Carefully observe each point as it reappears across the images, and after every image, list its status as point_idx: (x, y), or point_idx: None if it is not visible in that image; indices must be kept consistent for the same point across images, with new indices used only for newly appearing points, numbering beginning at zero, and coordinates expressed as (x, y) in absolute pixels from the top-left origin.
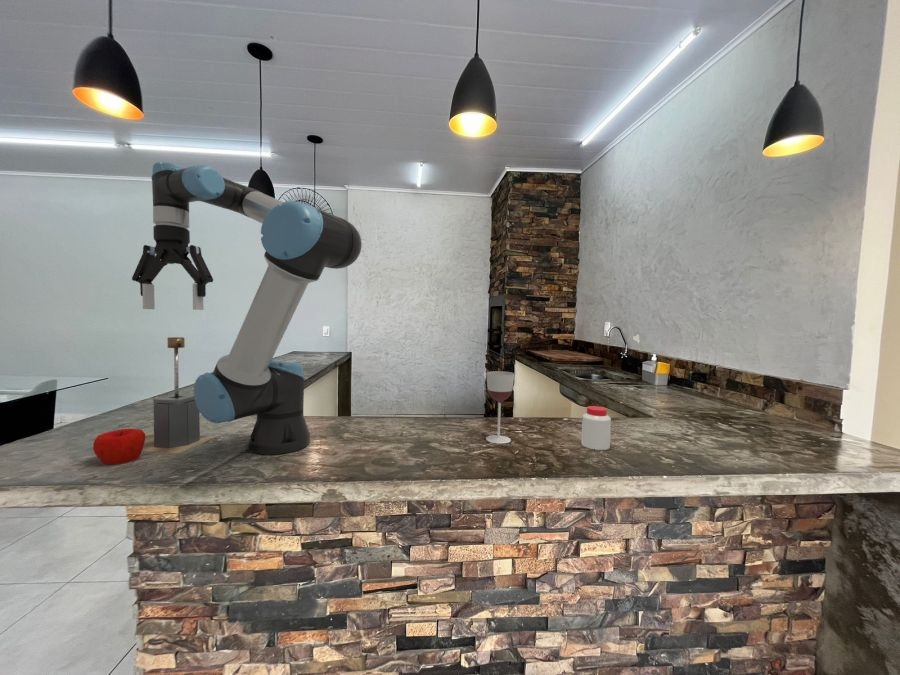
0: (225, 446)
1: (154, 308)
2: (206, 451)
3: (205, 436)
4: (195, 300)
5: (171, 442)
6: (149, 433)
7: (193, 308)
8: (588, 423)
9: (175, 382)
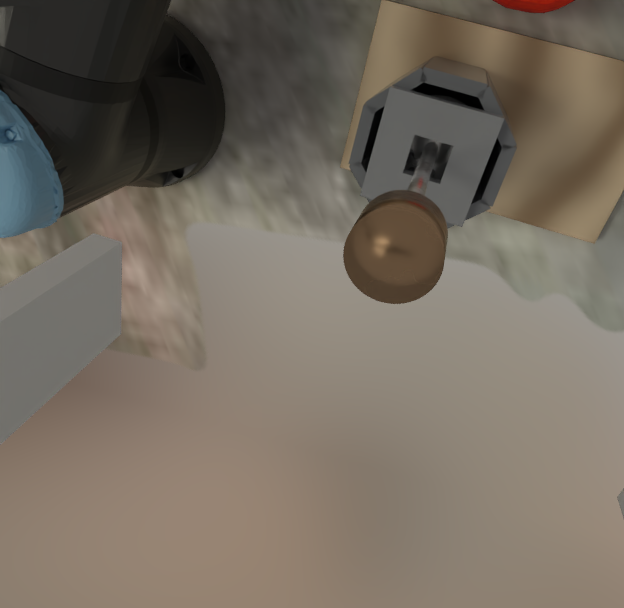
0: (295, 105)
1: (619, 502)
2: (329, 60)
3: None
4: (26, 273)
5: (427, 60)
6: (570, 229)
7: (109, 242)
8: None
9: (422, 166)
